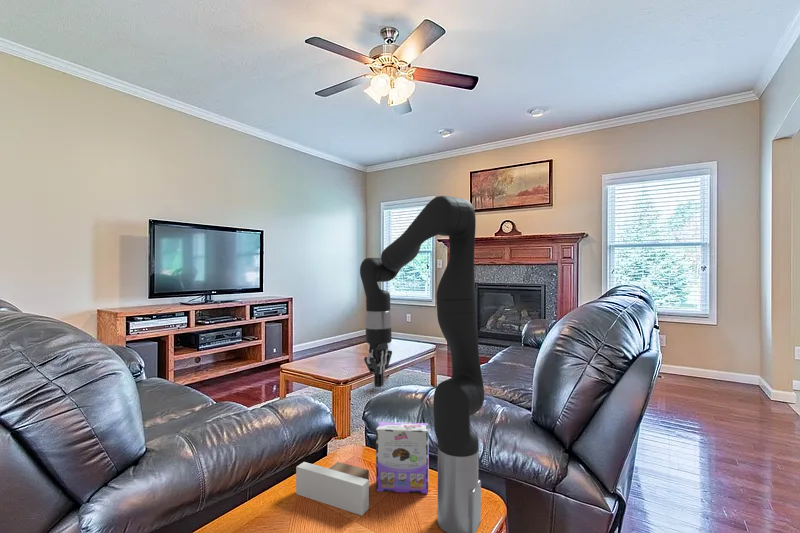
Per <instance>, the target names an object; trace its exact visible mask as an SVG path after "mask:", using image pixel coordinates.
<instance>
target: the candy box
mask: <svg viewBox="0 0 800 533" xmlns="http://www.w3.org/2000/svg"><path fill="white" fill-rule="evenodd" d="M377 424H378V425H377V427H376V429H375V440H376V441H375V491H377V492H388V493H408V494H409V493H410V494H429V471H430V470H429V464H430V463H429V461H430V460H429V459H430V458H429V456H430V454H429V453H430V452H429V423H427V422H423V423H422V422H399V421H398V422H397V421H396V422H395V421H378V423H377Z"/></svg>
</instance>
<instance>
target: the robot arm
mask: <svg viewBox="0 0 800 533" xmlns="http://www.w3.org/2000/svg"><path fill="white" fill-rule="evenodd" d="M476 221H477V220H476V211H475V208H474V206H473V204H472V203H471V202H470V200H468V199H466V198H462V197H461V198H460V197H454V196H449V195H447V196H446V195H439V196H435V197H434V198H433V199H431V200H430V201H429V202H428V203H427V204H426V205H425V206H424V207H423V209H422V210H421V211H420V212H419V213H418V215H417V216H416V217H415V218H414V220H413V221H412V223H410V225H409V226H408V227H407V228H406V229H405V230H404V232H403V233H402V234H401V235H400V236H399V237H397V238H396V239H395V240H394V241H393V242H391V243H390V244H389V245H388V246H387V247H386V248H384V249H383V250H382V252H381V255H380V257H367V258H364V259H363V260H362V262H361V264H360V265H359V266H360V267H359V275H360V279H361V280H360V281H361V282H362V285H363V289H364V290H363V291H364V295H365V303H366V304H365V306H366V310H365V311H366V312H365V314H366V315H365V343H366V344H368V345H369V348H368V355H367V356H365V357H364V358H363V361H364V363H365V365H366V367H367V369H368V371H369V373H372V374H373V375H374V387H376V388H382V387H383V386H384V373H385V371H386V370H388V367H389V365H390V361H391V358H392V355H393V351H392V350H389V344H390V343H391V342H392V314H391V294H390V291H388V290H384V289H381V288H380V286H379V282H380V283H386V282H391V281H393V279H395V278H396V277H397V275H398V274H399V272H400V271H401V269H403V268H404V267H405V266H406V265H408V264H409V263H411V262H412V261H413V260H414V259H415V258H416V257H417V255H418V254H419V252H420V250H421V247H422V246H421V245H422V244H423V243H425V242H426V241H428V240H430V239H431V238H433V237H435V236H442V237H443V236H445V237H448V240H449V255H448V260H447V263H446V264H447V265H446V267H445V270H444V271H443V273H442V276H441V278H440V280H439V283H438V286H437V289H436V295H435V296H436V313H437V322H438V325H439V328H440V330H441V333H442V335H443V337H444V339H445V341H446V343H447V345H448V348H449V351H450V356H451V377H449V378H448V379H445V380H443V381H441V382H440V383H438V385H436V388H435V390H434V394H433V404H432V405H433V425H434V426H433V427H434V428H433V429H434V435H435V437H436V441H437V513H436V514H437V525H438V526H439V528H440V529H441V530H442V531H443V532H444V533H476V532H477V530H478V528H479V527H480V524H481V522H482V519H481V518H482V517H481V516H482V480H481V479H479V445H480V443H479V437H478V436H477V434H476V433H475V432H473V431H471V430H470V429H471V428H470V417H471V416H473V415H475V414H476V413H478V412H479V411H480V410H481V409H482V407H483V405H484V402H485V389H484V388H485V387H484V381H483V380H484V379H483V374H482V367H481V362H480V361H481V360H480V354H479V335H478V334H479V333H478V322H477V321H478V317H477V316H478V311H477V309H478V308H477V294H476V286H475V285H476V282H475V281H476V275H475V272H476V271H475V242H476V223H477V222H476Z"/></svg>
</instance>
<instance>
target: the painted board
mask: <svg viewBox="0 0 800 533" xmlns="http://www.w3.org/2000/svg"><path fill="white" fill-rule="evenodd" d="M295 467H296V468H295V469H296V470H295V474H296V475H295V494H296V495H298V496H301V497H304V498H308V499H310V500H313V501H317V502H319V503H323V504H326V505H329V506H331V507H332V506H333V507H334V508H338V509H342V510H343V511H346V512H350V513H353V514H356V515H359V516H363V515H364V514H366V512H368V510H369V509H370V508H369V507H370V506H369V504H370V501H369V500H370V498H369V497H370V479H369V480H368V479H364V478H360V477H357V476H353V475H350V474H346V473H343V472H339V471H335V470H332V469H329V468H328V467H324V466H321V465H319V464H313V463H309V462H306V461H303V462H302V463H300V464H299V465H297V466H295Z"/></svg>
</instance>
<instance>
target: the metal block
mask: <svg viewBox="0 0 800 533" xmlns="http://www.w3.org/2000/svg"><path fill="white" fill-rule="evenodd" d="M328 469H332V470H335V471H339V472H343V473H346V474H350V475H353V476H357V477H360V478H364V479H368V480H369V481H370V470H369V469H367V468H364V467H358V466H355V465H351V464H347V463H345V462H340V461H336V463H334V464H333V465H331V466H330V467H329V468H328Z"/></svg>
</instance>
